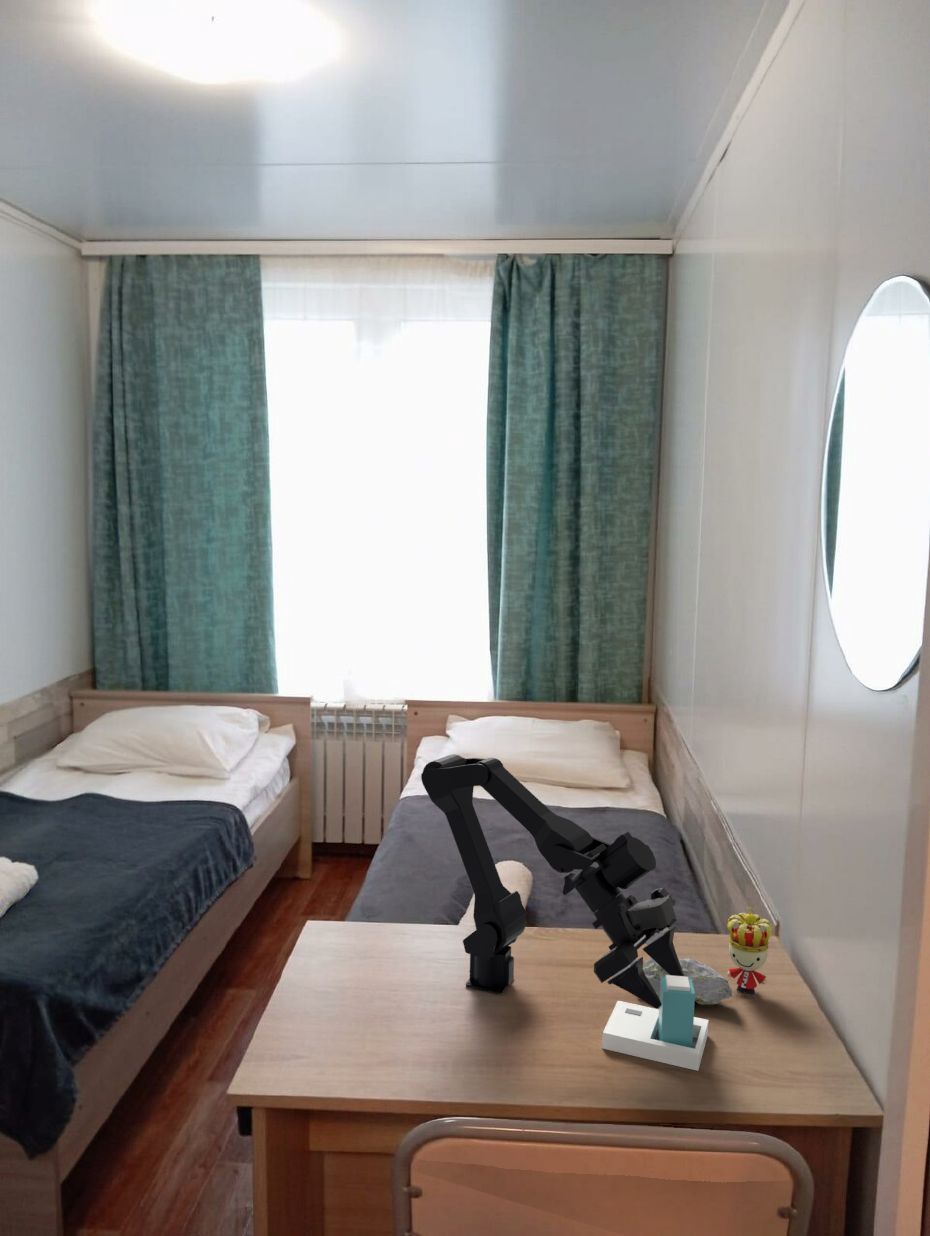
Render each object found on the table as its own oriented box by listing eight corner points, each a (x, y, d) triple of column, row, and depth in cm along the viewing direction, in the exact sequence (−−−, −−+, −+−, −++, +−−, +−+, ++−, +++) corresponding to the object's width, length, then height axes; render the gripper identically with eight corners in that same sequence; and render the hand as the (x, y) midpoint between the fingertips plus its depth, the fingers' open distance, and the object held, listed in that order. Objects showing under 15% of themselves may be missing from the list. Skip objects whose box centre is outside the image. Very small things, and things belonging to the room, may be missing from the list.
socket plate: (602, 1048, 141) (602, 1031, 141) (617, 1015, 150) (617, 999, 150) (698, 1070, 136) (699, 1053, 136) (707, 1035, 145) (708, 1019, 145)
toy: (720, 996, 157) (726, 909, 155) (726, 976, 164) (731, 893, 162) (766, 1005, 154) (771, 917, 153) (769, 985, 161) (775, 900, 159)
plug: (660, 1052, 140) (663, 987, 138) (657, 1035, 144) (660, 972, 143) (691, 1054, 139) (695, 989, 138) (688, 1037, 143) (691, 974, 142)
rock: (737, 998, 157) (739, 959, 156) (729, 1019, 150) (731, 978, 150) (643, 976, 163) (645, 939, 163) (632, 996, 157) (634, 957, 156)
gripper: (617, 897, 134) (687, 995, 130) (668, 858, 150) (732, 945, 145) (565, 934, 140) (630, 1030, 135) (619, 893, 155) (679, 978, 150)
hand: (671, 993), depth 141 cm, fingers open, 9 cm apart
